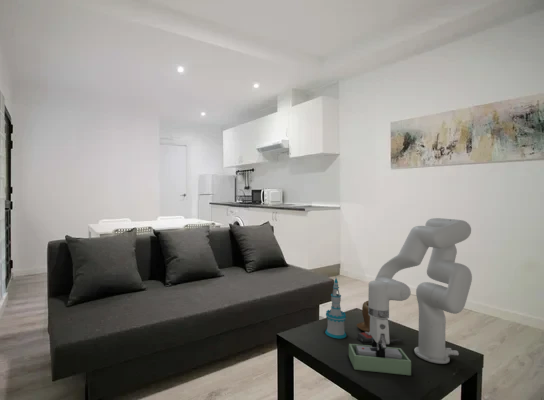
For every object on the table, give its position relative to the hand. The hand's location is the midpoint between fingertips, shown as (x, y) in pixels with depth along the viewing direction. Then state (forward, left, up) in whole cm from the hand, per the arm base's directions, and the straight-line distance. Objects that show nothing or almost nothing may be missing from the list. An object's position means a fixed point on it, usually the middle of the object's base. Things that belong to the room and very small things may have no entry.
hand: (378, 355), depth 121 cm
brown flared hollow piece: (-8, -34, -4) cm, 35 cm away
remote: (0, 0, -1) cm, 1 cm away
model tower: (+12, -26, -4) cm, 29 cm away
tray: (0, 0, -4) cm, 4 cm away
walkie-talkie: (-7, -22, -4) cm, 23 cm away
